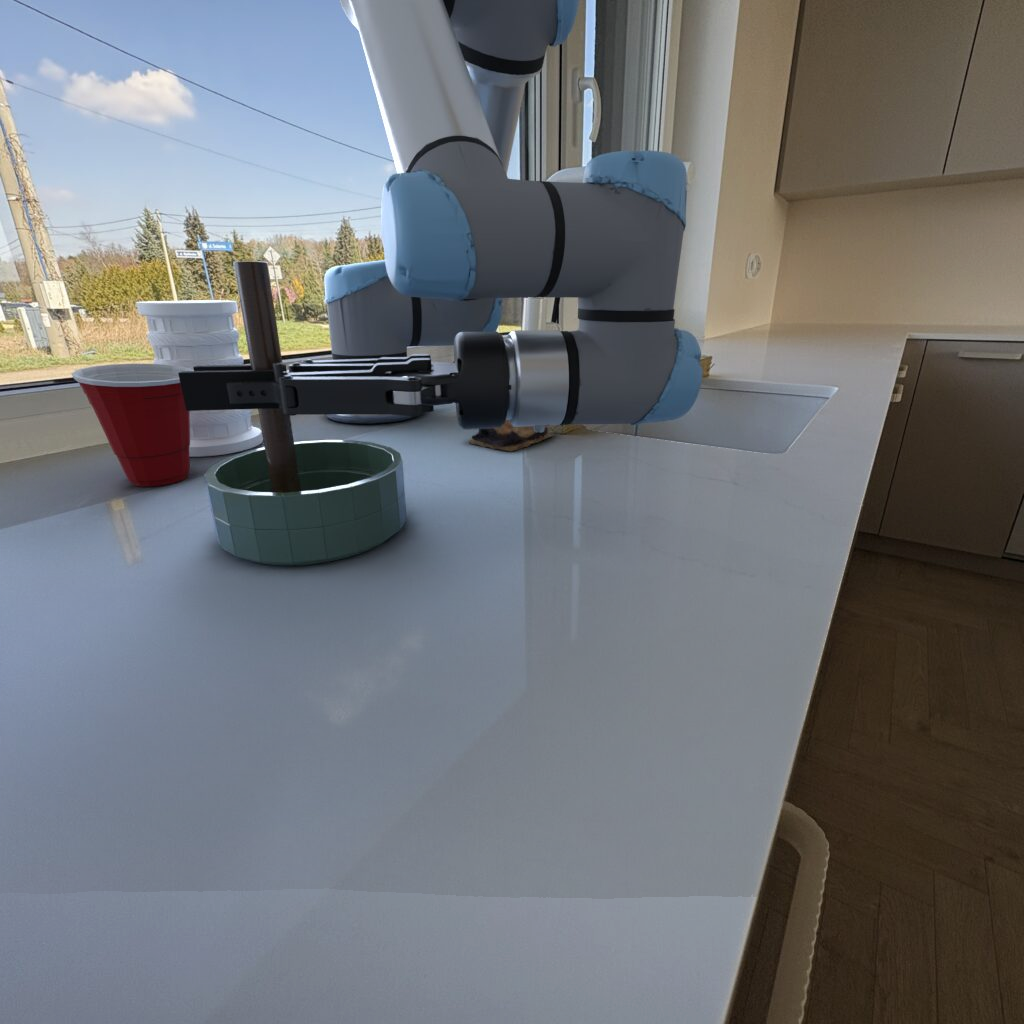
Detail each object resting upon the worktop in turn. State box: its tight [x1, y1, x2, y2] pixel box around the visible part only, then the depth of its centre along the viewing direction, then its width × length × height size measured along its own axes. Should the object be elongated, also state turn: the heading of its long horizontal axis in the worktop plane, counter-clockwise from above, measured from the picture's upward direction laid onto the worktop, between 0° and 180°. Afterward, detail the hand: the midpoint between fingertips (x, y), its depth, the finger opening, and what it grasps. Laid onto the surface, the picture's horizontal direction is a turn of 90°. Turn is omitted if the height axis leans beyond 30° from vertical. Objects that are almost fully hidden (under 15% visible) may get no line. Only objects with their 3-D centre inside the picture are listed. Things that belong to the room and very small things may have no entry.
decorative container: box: [135, 299, 264, 458], centre depth 73 cm, size 12×12×18 cm
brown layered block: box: [468, 420, 554, 453], centre depth 78 cm, size 11×8×4 cm
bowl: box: [203, 439, 408, 566], centre depth 49 cm, size 16×16×6 cm
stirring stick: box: [233, 260, 301, 493], centre depth 43 cm, size 5×5×20 cm
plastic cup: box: [70, 363, 194, 488], centre depth 61 cm, size 11×11×12 cm
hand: (192, 387), depth 42 cm, fingers closed on stirring stick, 2 cm apart
